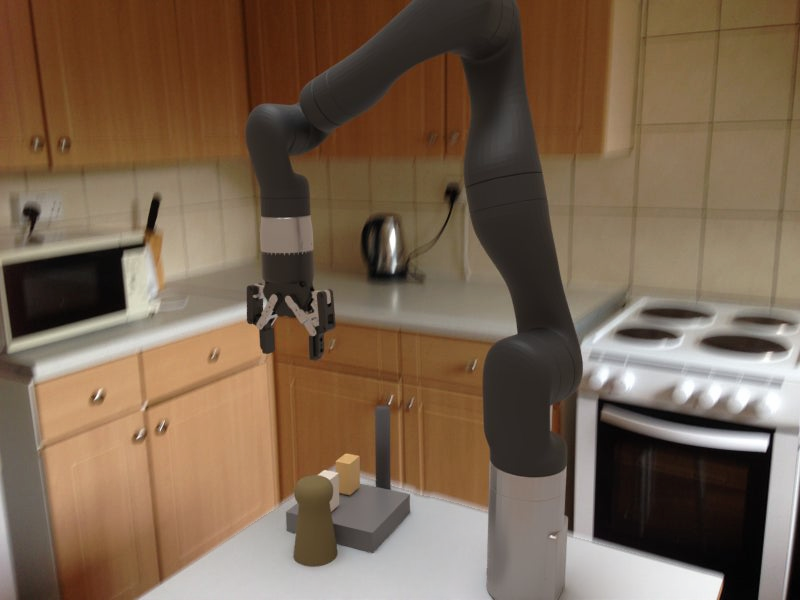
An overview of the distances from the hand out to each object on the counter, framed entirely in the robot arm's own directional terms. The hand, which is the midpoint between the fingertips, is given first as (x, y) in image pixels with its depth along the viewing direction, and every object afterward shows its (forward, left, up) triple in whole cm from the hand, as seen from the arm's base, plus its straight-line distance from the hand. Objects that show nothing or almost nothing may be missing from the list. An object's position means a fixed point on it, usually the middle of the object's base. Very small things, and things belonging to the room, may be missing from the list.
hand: (291, 355), depth 108 cm
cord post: (-10, -10, -24) cm, 28 cm away
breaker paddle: (-8, -2, -21) cm, 22 cm away
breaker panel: (-10, +1, -24) cm, 26 cm away
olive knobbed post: (-10, +11, -24) cm, 28 cm away
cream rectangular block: (-8, +4, -21) cm, 23 cm away
